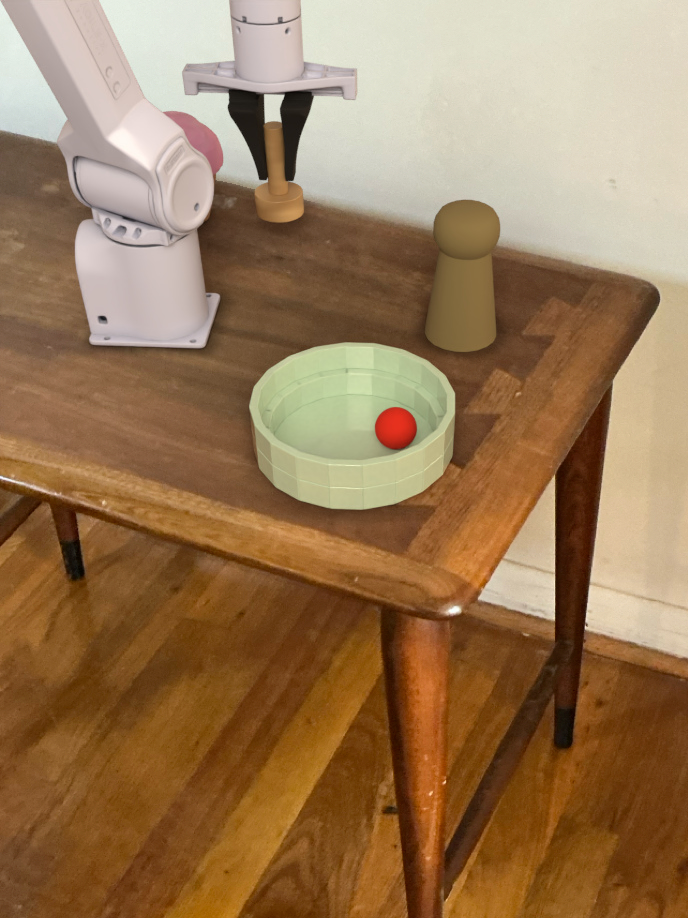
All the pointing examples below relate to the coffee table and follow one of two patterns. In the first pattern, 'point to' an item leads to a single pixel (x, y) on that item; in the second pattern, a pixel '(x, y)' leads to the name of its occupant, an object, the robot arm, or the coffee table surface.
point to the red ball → (395, 428)
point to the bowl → (350, 425)
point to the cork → (463, 277)
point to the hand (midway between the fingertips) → (277, 176)
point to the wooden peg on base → (277, 182)
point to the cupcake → (200, 140)
